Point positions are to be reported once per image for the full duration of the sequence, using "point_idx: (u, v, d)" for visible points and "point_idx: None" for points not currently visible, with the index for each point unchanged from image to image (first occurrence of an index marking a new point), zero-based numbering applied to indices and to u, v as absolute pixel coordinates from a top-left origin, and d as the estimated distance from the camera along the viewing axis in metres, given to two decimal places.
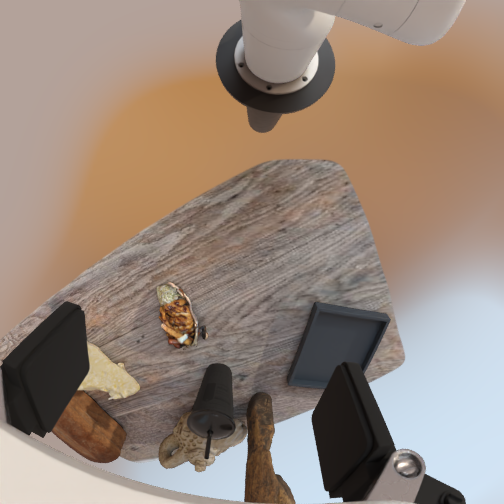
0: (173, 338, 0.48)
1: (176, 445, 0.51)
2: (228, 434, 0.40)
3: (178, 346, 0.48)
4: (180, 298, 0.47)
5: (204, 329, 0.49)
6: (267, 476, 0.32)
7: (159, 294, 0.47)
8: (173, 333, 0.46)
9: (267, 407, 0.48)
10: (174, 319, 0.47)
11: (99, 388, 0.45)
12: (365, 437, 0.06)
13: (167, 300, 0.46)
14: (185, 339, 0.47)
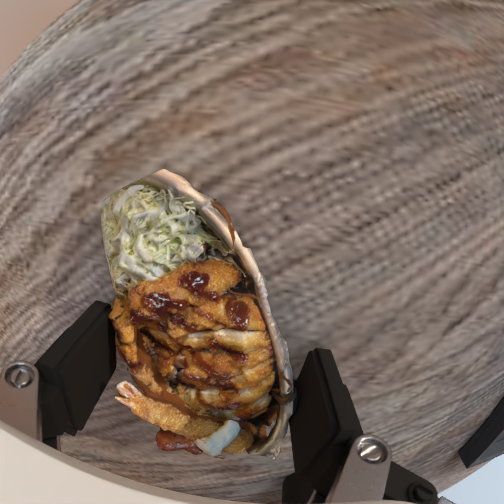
0: None
1: None
2: None
3: (197, 451, 0.11)
4: (214, 256, 0.09)
5: None
6: None
7: (110, 236, 0.09)
8: (179, 424, 0.09)
9: None
10: (180, 360, 0.10)
11: None
12: (329, 420, 0.07)
13: (146, 262, 0.08)
14: (231, 441, 0.10)
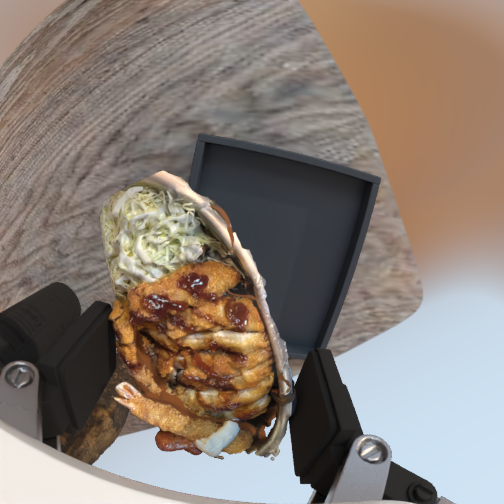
0: None
1: None
2: None
3: (196, 451, 0.11)
4: (213, 258, 0.09)
5: None
6: None
7: (109, 238, 0.09)
8: (178, 424, 0.09)
9: (121, 374, 0.22)
10: (179, 361, 0.10)
11: None
12: (328, 420, 0.07)
13: (145, 263, 0.08)
14: (231, 441, 0.10)
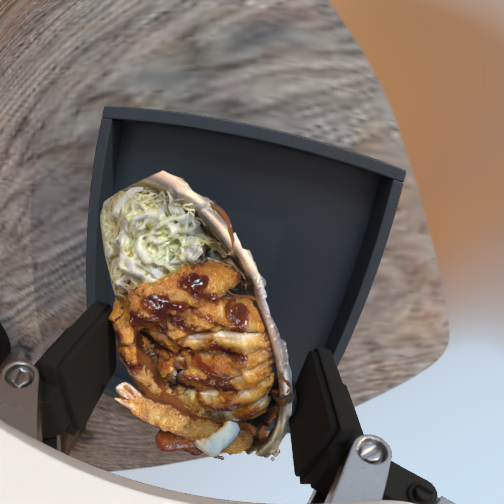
0: None
1: None
2: None
3: (197, 451, 0.11)
4: (214, 258, 0.09)
5: None
6: None
7: (110, 238, 0.09)
8: (179, 424, 0.09)
9: None
10: (180, 361, 0.10)
11: None
12: (328, 420, 0.07)
13: (146, 263, 0.08)
14: (231, 441, 0.10)
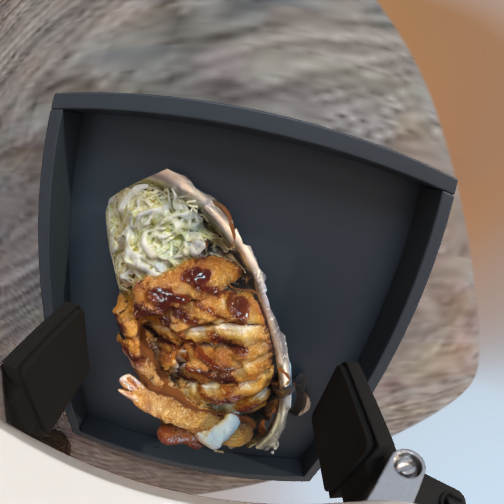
0: None
1: None
2: None
3: (197, 445, 0.11)
4: (216, 253, 0.10)
5: (302, 384, 0.12)
6: None
7: (115, 233, 0.09)
8: (181, 416, 0.09)
9: None
10: (182, 354, 0.10)
11: None
12: (365, 437, 0.06)
13: (150, 257, 0.09)
14: (231, 434, 0.10)
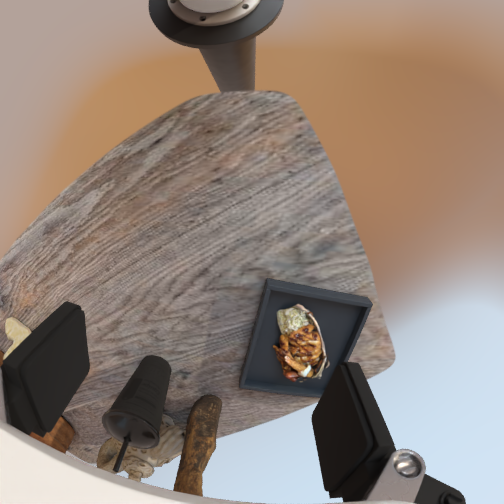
0: (292, 371, 0.38)
1: (117, 449, 0.40)
2: (152, 444, 0.29)
3: (295, 379, 0.39)
4: (309, 323, 0.37)
5: (327, 357, 0.40)
6: None
7: (282, 319, 0.37)
8: (298, 366, 0.37)
9: (211, 414, 0.37)
10: (298, 349, 0.38)
11: None
12: (365, 437, 0.06)
13: (295, 326, 0.36)
14: (309, 371, 0.38)
